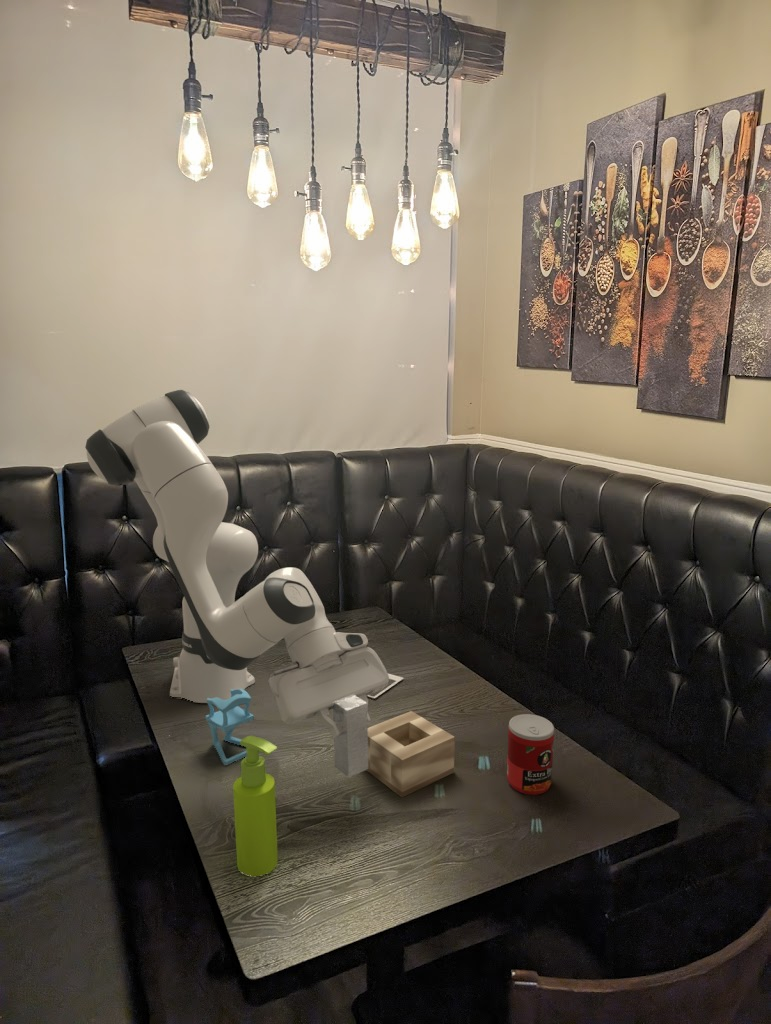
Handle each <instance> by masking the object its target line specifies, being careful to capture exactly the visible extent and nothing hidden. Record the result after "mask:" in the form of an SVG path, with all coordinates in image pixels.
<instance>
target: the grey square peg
mask: <svg viewBox="0 0 771 1024" xmlns="http://www.w3.org/2000/svg"><path fill="white" fill-rule="evenodd" d="M367 712H368V711H367V702H365V701H363V700H362V699H360V698H359V697H357V696H356V695H354V694H353V695H351V696H348V697H345V698H343V699H340V700H337V701H335V702H334V705H333V709H332V714H333V715H332V716H333V717H332V718H333V719H332V720H333V721H334V722H335V723H336V724H337V723H341V725H342V728H343V730H344V733H343V734H342V735H341V736H338V737H336V738H333V746H334V747H333V749H334V751H333V753H334V755H333V756H334V768H336V769H337V770H338V771H339V772H341V774H343V775H344V776H346V777H347V779H349V778H351V777H353V776H355V775H358V774H360V773H362V772H364V771H367V769H368V728H369V724H367Z"/></svg>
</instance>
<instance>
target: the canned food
mask: <svg viewBox="0 0 771 1024" xmlns="http://www.w3.org/2000/svg"><path fill="white" fill-rule="evenodd" d="M507 735H508V737H507V759H506V761H507V763H506V777H507V782H508V783H509V785H510V786H511V788H513V789H514V790H516V791H518V792H519V793H521V794H525V795H531V796H532V795H535V796H537V795H541V794H544V793H546V792H548V791H549V789H550V787H551V784H552V776H553V758H554V743H555V742H554V740H555V726H554V724H553V723H552V722H551V721H550V720H548V719H547V718H545V717H543V716H540V715H538V714H537V715H536V714H532V713H531V714H530V713H523V714H516V715H514V716H513V717H512V718H510V720H509V724H508V731H507Z"/></svg>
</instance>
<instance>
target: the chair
mask: <svg viewBox="0 0 771 1024" xmlns="http://www.w3.org/2000/svg"><path fill="white" fill-rule="evenodd" d="M230 691H231V698H229V699H227V700H222V699H220V698H218V697H216V698H212V699H210V698H207V703H206V704H207V706H208V708H209V714H207V715H205V721H207V723H208V726H209V729H210V733H211V737H212V738H211V739H212V746H213V745H214V746H215V747H214V746H213V747H214V749H215V748H216V749H215V750H217V751H216V752H218V753H217V755H218V754H219V755H218V756H220V757H219V759H220V758H221V759H220V761H221V760H222V761H221V763H222V762H223V763H224V764H225V765H228V764H230V763H232V762H234V761H236V762H238V761H240V760H239V759H241V760H243V759H244V757H247V754H246V750H244V751H242V752H239V753H237V754H235V755H232V756H230V757H229V758H227V757H226V754H225V752H224V749H223V747H222V744H221V743H220V742H221V741H219V740H220V739H219V736H218V732H217V729H219V730H221V731H222V732H223V733H224V736H223V741H224V740H225V741H224V742H226V741H228V742H231V743H234V744H233V745H235V744H237V745H236V746H239V745H240V741H241V740H242V739H241V738H238V737H234V736H232V734H233V731H234V730H235V727H238V726H240V725H243V724H246V723H250V722H251V721H254V719H255V718H254V716H255V715H254V714H252V713H250V710H249V708H250V705H251V701H252V697H251V696H250V694H249V693H248V692H247V691H246V689H244V690H243V689H237V690H233V689H231V690H230ZM236 694H239V695H236ZM213 705H214V706H215V707H216V708H217V709H218V711H216V712H215V708H214V706H213ZM242 705H245V706H244V708H241V707H240V706H242ZM228 742H227V743H228ZM231 743H230V744H231ZM241 747H243V745H241ZM244 748H246V746H244ZM242 758H243V759H242ZM237 760H238V761H237ZM223 763H222V764H223ZM234 763H235V762H234ZM224 764H223V765H224ZM232 764H233V763H232ZM225 765H224V766H225ZM230 765H231V764H230ZM228 766H229V765H228Z"/></svg>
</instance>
